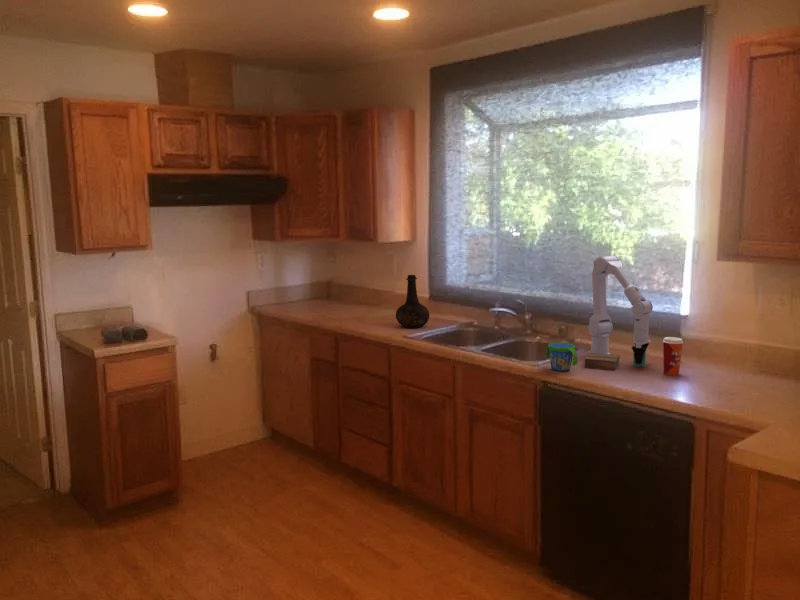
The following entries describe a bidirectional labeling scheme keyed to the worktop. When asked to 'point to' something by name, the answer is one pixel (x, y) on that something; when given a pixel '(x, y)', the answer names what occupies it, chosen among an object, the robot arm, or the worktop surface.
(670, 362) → the paper cup
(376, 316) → the worktop surface
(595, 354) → the walnut base
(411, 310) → the glass bottle
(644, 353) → the teal block
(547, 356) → the snack cup
